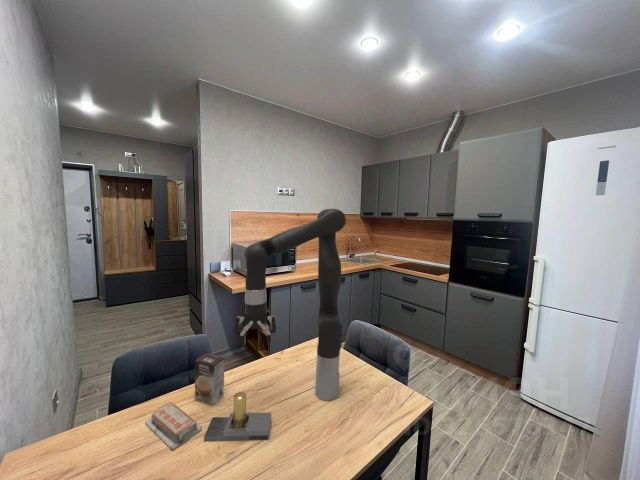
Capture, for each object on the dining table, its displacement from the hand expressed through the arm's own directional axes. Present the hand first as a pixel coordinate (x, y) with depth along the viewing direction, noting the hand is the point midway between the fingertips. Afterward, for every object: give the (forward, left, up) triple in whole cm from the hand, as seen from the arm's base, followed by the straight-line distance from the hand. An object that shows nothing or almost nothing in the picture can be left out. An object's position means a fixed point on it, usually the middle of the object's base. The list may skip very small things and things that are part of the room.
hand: (256, 344), depth 94 cm
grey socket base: (+3, +9, -25) cm, 27 cm away
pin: (+3, +9, -25) cm, 27 cm away
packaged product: (+25, +7, -26) cm, 37 cm away
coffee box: (+18, -7, -25) cm, 32 cm away
